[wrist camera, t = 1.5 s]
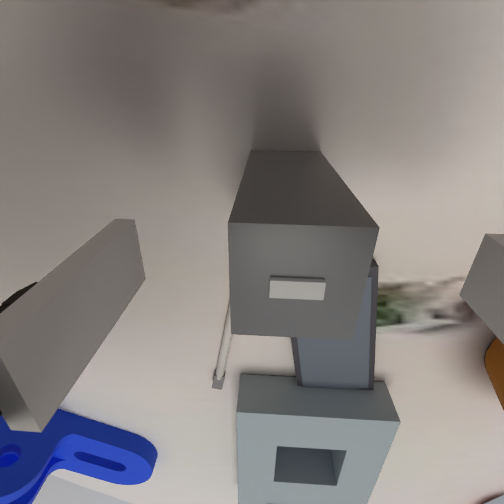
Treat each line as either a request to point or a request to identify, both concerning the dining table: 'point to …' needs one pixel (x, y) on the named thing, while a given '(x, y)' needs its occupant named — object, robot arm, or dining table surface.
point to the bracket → (70, 455)
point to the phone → (342, 350)
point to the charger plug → (297, 249)
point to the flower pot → (496, 367)
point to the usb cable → (223, 354)
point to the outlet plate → (310, 441)
